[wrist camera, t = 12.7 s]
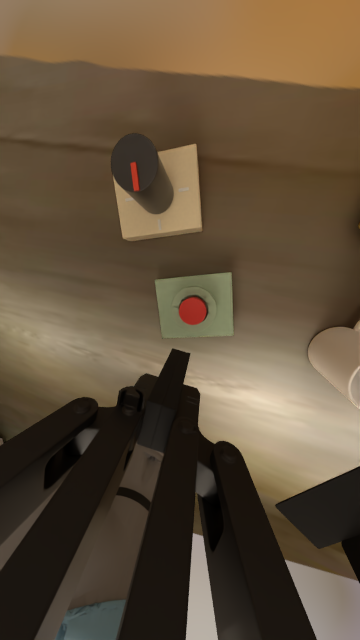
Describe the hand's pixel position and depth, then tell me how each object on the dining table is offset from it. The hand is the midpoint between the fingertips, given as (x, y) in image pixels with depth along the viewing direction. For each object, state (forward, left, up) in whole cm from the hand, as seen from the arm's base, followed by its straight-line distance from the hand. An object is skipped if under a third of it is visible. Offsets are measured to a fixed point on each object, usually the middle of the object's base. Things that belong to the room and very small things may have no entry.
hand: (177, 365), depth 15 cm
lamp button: (0, +2, -15) cm, 15 cm away
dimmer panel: (-1, +19, -18) cm, 26 cm away
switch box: (0, +2, -18) cm, 18 cm away
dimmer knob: (-1, +19, -15) cm, 24 cm away
